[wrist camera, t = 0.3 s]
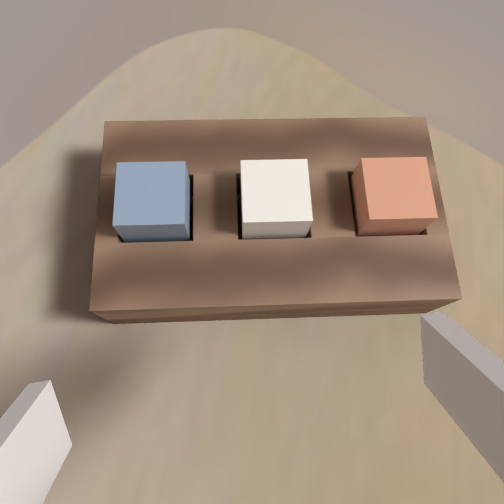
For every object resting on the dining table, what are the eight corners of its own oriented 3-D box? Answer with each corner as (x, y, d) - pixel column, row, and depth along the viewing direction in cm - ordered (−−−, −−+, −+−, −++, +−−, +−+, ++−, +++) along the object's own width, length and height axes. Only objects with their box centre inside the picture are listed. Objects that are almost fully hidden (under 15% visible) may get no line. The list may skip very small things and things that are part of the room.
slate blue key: (189, 240, 28) (184, 224, 26) (125, 242, 28) (112, 225, 25) (190, 182, 30) (185, 161, 27) (128, 184, 30) (116, 162, 27)
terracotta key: (418, 234, 29) (437, 217, 26) (356, 235, 29) (369, 219, 26) (408, 178, 30) (426, 156, 28) (349, 179, 30) (361, 158, 27)
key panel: (425, 313, 32) (461, 298, 27) (113, 323, 31) (88, 311, 26) (398, 155, 37) (425, 116, 31) (124, 160, 36) (104, 121, 30)
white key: (305, 237, 29) (312, 220, 26) (242, 238, 29) (242, 222, 26) (300, 180, 30) (307, 158, 27) (240, 181, 30) (240, 160, 27)
